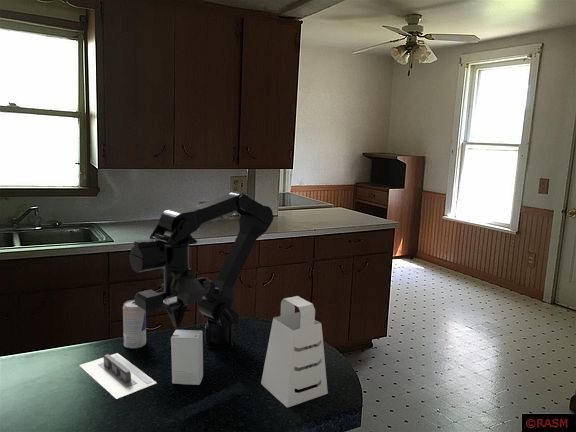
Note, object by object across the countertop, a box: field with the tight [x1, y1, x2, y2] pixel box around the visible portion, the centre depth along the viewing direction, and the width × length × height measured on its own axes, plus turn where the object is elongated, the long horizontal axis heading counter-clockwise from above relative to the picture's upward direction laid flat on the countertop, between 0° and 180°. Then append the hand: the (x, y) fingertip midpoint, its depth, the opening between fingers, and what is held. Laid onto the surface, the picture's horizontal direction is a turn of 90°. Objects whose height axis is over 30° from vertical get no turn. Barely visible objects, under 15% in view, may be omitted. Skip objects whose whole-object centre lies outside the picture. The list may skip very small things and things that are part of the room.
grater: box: [260, 295, 329, 408], centre depth 99 cm, size 10×10×20 cm
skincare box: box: [170, 329, 204, 386], centre depth 99 cm, size 6×4×12 cm
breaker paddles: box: [104, 353, 131, 384], centre depth 101 cm, size 1×10×2 cm, turn 46°
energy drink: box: [122, 299, 147, 349], centre depth 115 cm, size 5×5×12 cm
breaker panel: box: [78, 352, 158, 400], centre depth 101 cm, size 9×18×2 cm, turn 46°
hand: (176, 327), depth 111 cm, fingers closed
